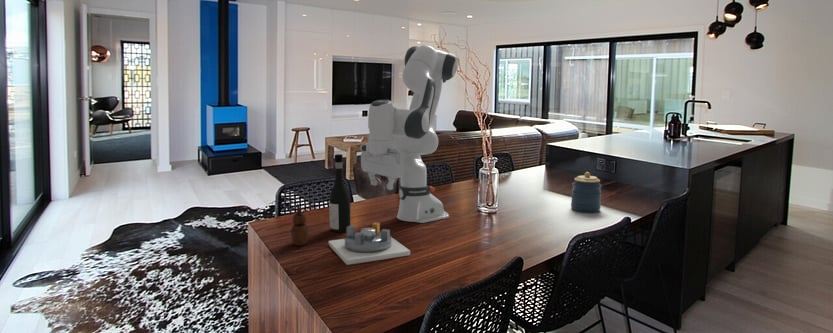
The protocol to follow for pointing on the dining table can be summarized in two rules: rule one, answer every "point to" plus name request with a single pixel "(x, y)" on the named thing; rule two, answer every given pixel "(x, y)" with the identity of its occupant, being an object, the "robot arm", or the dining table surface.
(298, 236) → the wooden figurine
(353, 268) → the dining table surface
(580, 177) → the canister
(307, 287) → the dining table surface
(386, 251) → the base plate
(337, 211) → the wine bottle
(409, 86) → the robot arm
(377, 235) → the lathe chuck
